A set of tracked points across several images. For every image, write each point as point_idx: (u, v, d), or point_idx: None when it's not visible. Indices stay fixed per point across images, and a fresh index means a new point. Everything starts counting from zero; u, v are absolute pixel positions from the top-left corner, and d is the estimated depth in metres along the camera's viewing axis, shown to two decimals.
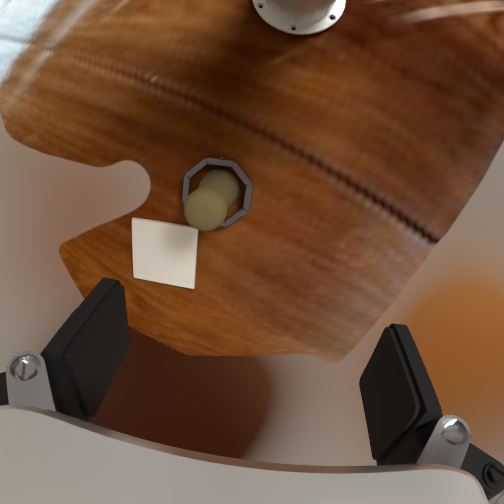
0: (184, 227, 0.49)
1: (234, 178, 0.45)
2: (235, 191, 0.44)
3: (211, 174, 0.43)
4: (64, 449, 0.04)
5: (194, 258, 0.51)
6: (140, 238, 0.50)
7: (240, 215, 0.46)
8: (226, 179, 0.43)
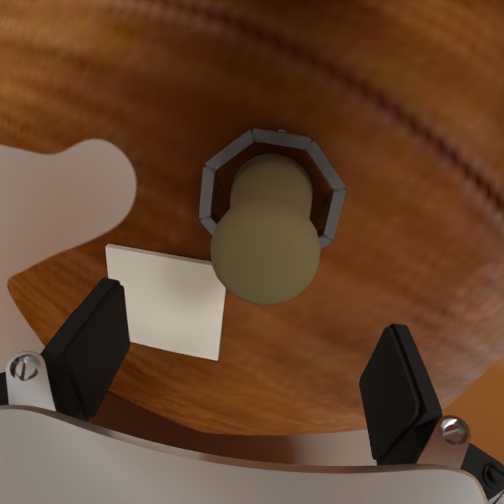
0: (202, 265, 0.26)
1: (305, 174, 0.22)
2: (311, 201, 0.21)
3: (262, 164, 0.21)
4: (64, 449, 0.04)
5: (219, 316, 0.29)
6: (123, 279, 0.28)
7: None
8: (296, 175, 0.20)
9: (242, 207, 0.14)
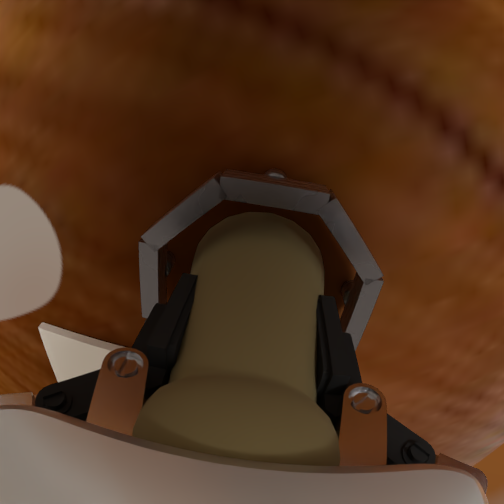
0: None
1: (314, 247, 0.13)
2: None
3: (238, 240, 0.12)
4: (64, 449, 0.04)
5: None
6: (66, 366, 0.19)
7: None
8: (298, 262, 0.11)
9: (168, 426, 0.05)
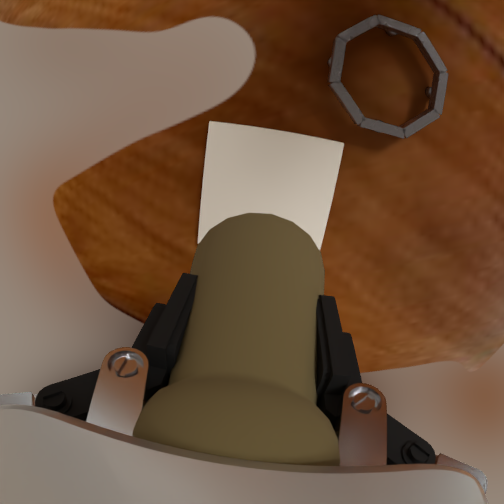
0: (319, 139, 0.24)
1: (314, 248, 0.13)
2: None
3: (238, 241, 0.12)
4: (64, 449, 0.04)
5: (328, 201, 0.27)
6: (223, 160, 0.26)
7: (429, 120, 0.21)
8: (298, 264, 0.11)
9: (168, 429, 0.05)
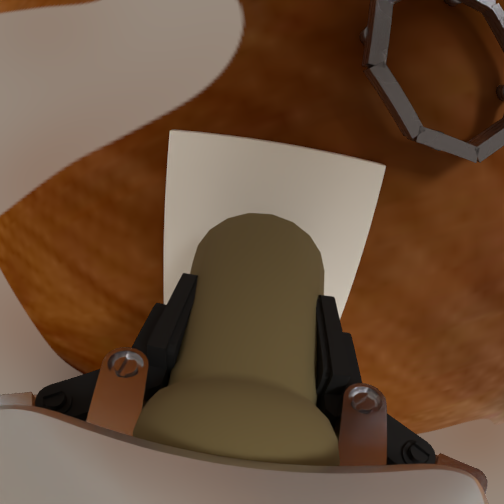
0: (347, 160, 0.15)
1: (314, 249, 0.13)
2: None
3: (238, 241, 0.12)
4: (64, 449, 0.04)
5: (356, 254, 0.17)
6: (194, 192, 0.16)
7: None
8: (298, 264, 0.11)
9: (168, 429, 0.05)
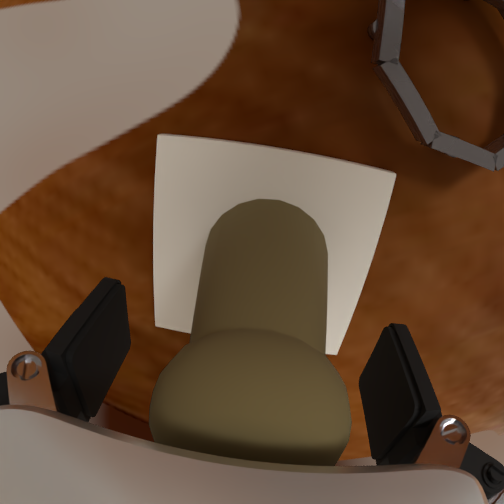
0: (354, 167, 0.14)
1: (318, 231, 0.14)
2: (327, 278, 0.14)
3: (250, 222, 0.13)
4: (64, 449, 0.04)
5: (363, 270, 0.16)
6: (185, 203, 0.15)
7: None
8: (305, 242, 0.12)
9: (198, 371, 0.06)
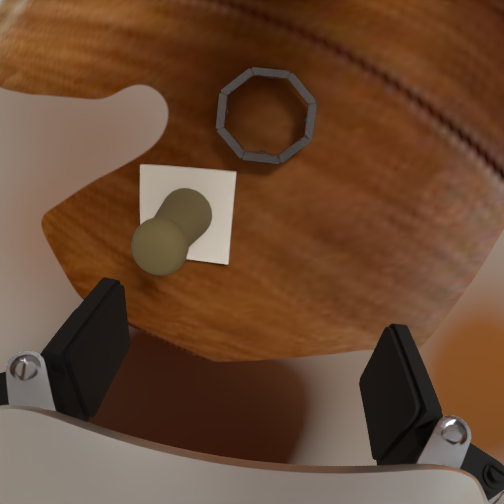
0: (216, 172, 0.34)
1: (204, 199, 0.35)
2: (205, 217, 0.34)
3: (173, 196, 0.33)
4: (64, 449, 0.04)
5: (229, 217, 0.36)
6: (152, 192, 0.35)
7: (300, 146, 0.31)
8: (192, 201, 0.33)
9: (143, 223, 0.27)
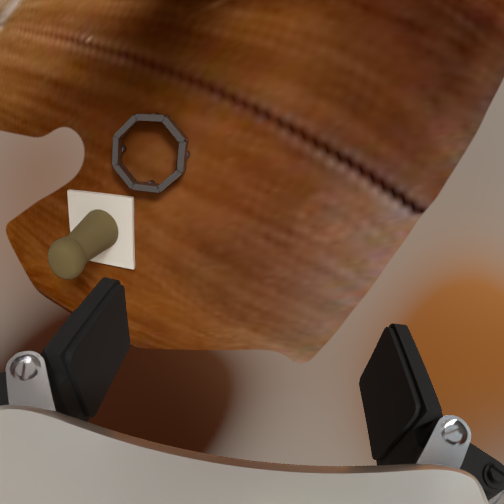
0: (118, 197, 0.41)
1: (110, 219, 0.42)
2: (108, 233, 0.41)
3: (86, 217, 0.40)
4: (64, 449, 0.04)
5: (130, 232, 0.43)
6: (76, 211, 0.42)
7: (174, 178, 0.37)
8: (98, 222, 0.39)
9: (54, 242, 0.33)
